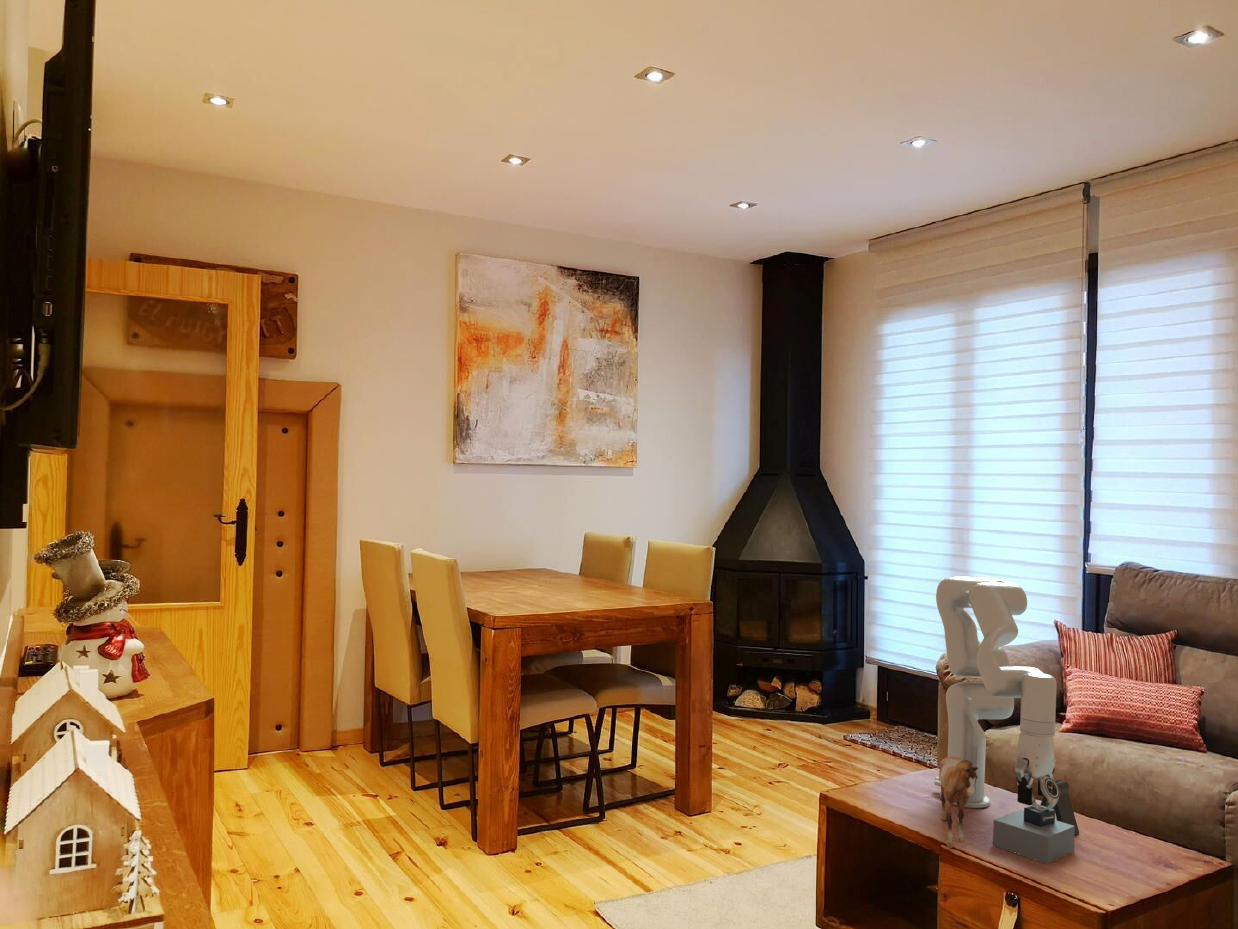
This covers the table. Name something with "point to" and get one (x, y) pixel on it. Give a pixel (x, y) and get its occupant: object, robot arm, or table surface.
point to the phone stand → (1063, 806)
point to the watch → (1041, 813)
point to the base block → (1033, 837)
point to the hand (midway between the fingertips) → (1034, 800)
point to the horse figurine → (956, 790)
